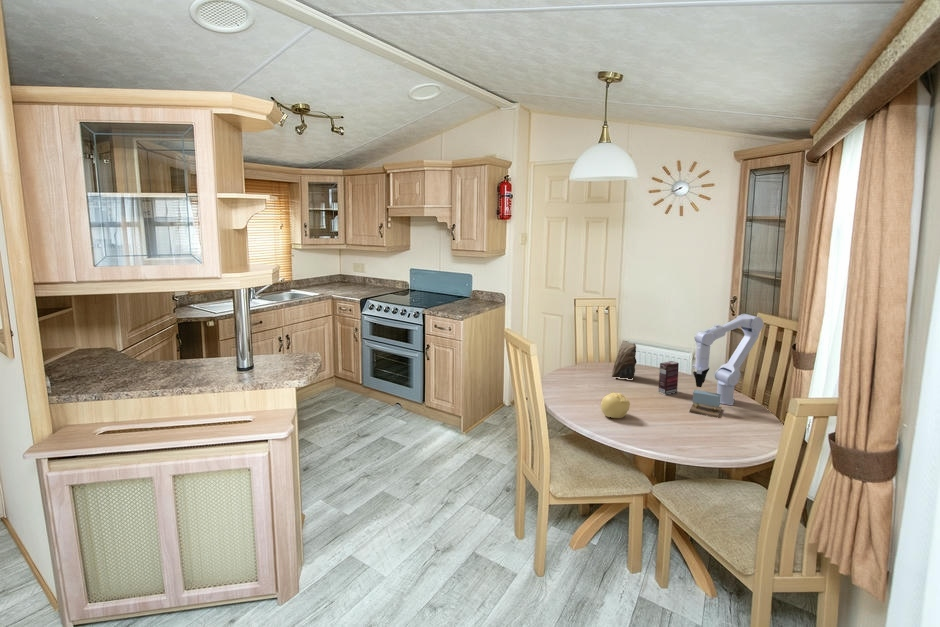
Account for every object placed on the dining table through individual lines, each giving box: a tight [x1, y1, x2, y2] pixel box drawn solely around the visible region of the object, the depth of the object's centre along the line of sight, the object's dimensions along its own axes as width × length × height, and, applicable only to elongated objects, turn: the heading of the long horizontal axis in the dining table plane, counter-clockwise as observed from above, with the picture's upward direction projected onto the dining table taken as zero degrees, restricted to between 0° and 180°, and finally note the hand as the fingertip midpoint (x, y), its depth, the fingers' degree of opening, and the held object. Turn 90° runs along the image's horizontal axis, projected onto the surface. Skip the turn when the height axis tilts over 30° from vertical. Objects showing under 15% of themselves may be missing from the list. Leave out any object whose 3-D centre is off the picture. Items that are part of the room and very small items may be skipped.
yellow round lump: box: [600, 392, 631, 419], centre depth 226 cm, size 11×12×11 cm
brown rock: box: [611, 339, 637, 379], centre depth 278 cm, size 13×13×20 cm
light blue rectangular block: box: [691, 389, 721, 407], centre depth 231 cm, size 11×4×5 cm, turn 58°
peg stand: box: [689, 403, 723, 418], centre depth 232 cm, size 12×12×4 cm
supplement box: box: [658, 360, 680, 396], centre depth 254 cm, size 9×5×16 cm, turn 115°
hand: (700, 384), depth 238 cm, fingers open, 7 cm apart
